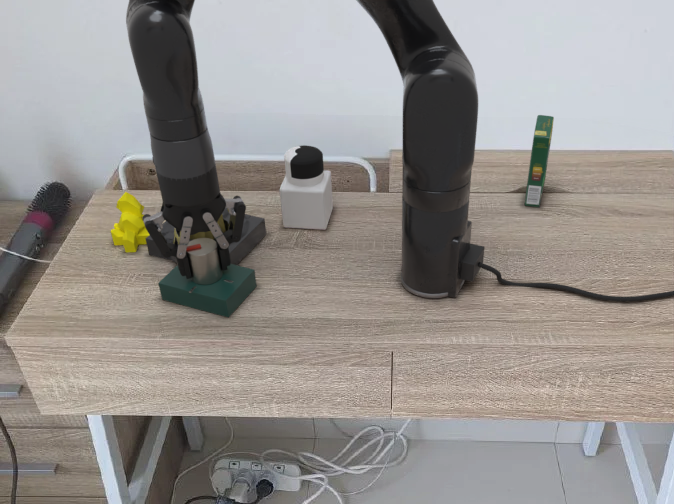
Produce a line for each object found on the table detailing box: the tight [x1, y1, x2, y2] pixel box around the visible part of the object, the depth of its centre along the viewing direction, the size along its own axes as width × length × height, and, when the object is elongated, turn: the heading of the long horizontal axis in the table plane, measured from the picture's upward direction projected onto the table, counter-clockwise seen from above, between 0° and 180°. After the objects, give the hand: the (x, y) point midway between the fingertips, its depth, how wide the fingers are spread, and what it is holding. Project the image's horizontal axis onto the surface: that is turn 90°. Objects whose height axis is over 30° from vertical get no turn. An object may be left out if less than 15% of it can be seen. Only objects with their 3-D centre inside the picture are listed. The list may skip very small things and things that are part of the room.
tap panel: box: [157, 264, 258, 318], centre depth 112 cm, size 11×9×3 cm
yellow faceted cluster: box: [110, 191, 150, 254], centre depth 122 cm, size 6×8×8 cm
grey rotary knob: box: [186, 238, 222, 285], centre depth 110 cm, size 4×4×5 cm
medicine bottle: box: [279, 144, 334, 231], centre depth 125 cm, size 7×7×12 cm
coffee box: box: [524, 114, 555, 208], centre depth 131 cm, size 8×3×13 cm, turn 167°
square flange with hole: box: [145, 208, 267, 265], centre depth 122 cm, size 14×13×3 cm
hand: (206, 271), depth 111 cm, fingers closed on grey rotary knob, 4 cm apart
